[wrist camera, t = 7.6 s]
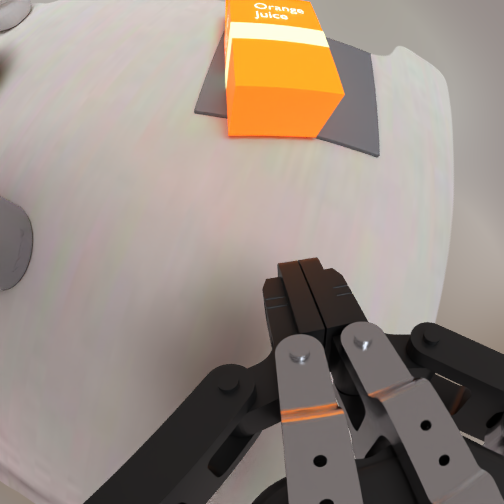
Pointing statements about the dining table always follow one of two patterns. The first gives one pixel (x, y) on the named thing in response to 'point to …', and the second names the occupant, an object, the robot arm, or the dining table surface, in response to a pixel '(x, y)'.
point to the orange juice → (277, 69)
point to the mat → (345, 114)
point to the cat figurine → (13, 12)
